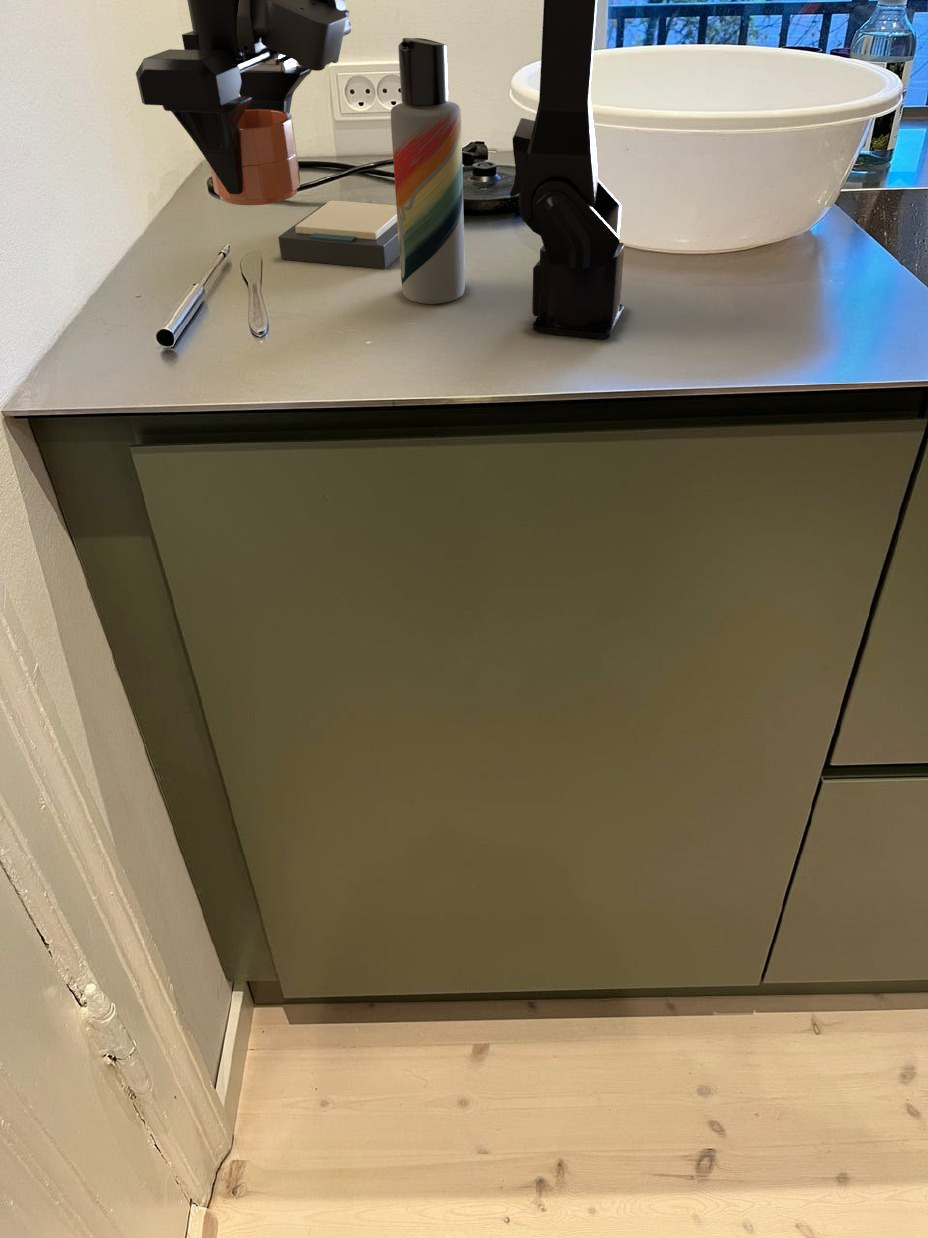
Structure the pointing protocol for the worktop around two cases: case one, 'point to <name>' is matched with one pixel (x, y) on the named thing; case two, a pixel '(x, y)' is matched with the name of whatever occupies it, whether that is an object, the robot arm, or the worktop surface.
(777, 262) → the worktop surface
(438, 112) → the lotion bottle
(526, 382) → the worktop surface
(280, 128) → the plant pot
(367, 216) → the scale
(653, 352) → the worktop surface
